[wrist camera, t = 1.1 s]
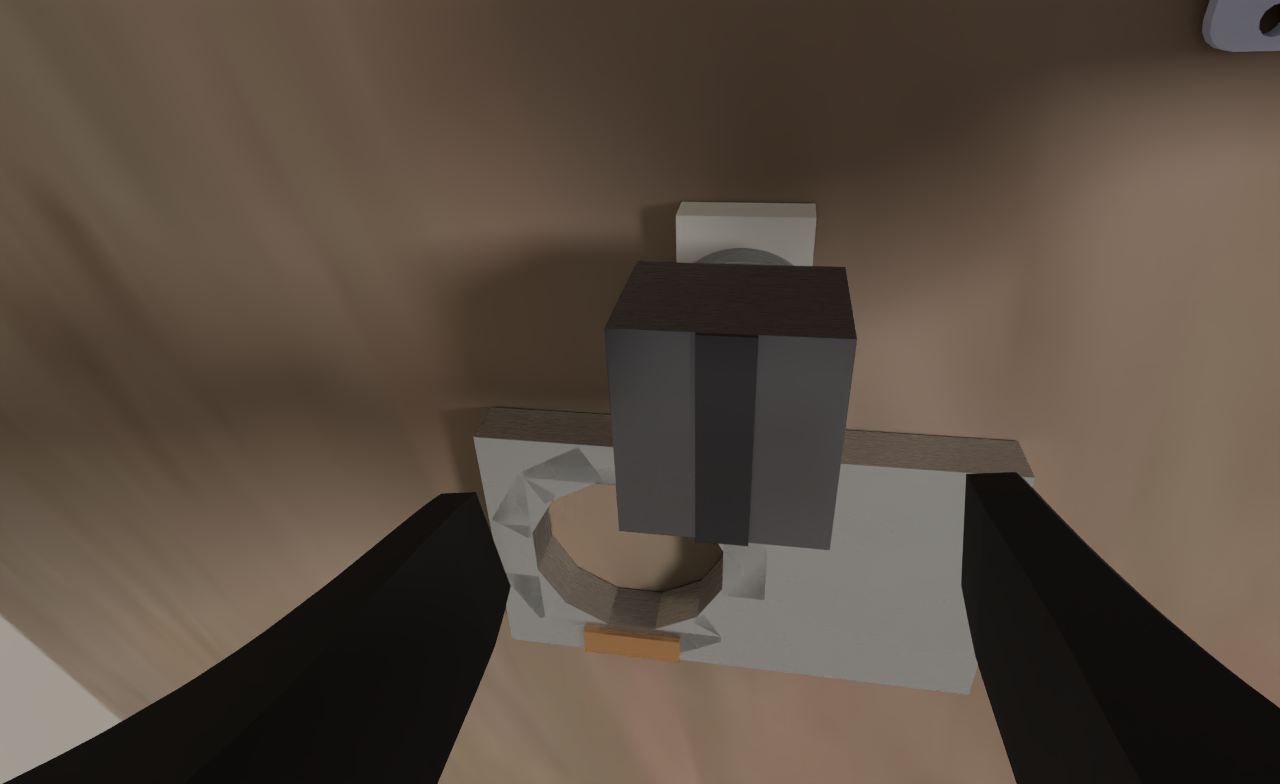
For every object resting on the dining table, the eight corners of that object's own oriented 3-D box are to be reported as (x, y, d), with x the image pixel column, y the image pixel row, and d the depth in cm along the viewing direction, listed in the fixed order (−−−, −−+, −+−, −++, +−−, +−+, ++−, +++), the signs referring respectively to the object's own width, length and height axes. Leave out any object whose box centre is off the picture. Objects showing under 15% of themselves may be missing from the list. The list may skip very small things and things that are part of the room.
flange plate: (1018, 441, 18) (1037, 482, 17) (958, 652, 23) (970, 700, 21) (492, 407, 21) (470, 441, 19) (526, 604, 25) (510, 643, 23)
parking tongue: (815, 203, 16) (816, 217, 15) (798, 394, 19) (799, 415, 18) (681, 201, 17) (675, 215, 16) (683, 388, 19) (678, 408, 18)
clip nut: (839, 232, 15) (857, 342, 11) (820, 406, 18) (829, 553, 13) (653, 228, 16) (603, 331, 12) (658, 397, 18) (618, 534, 14)
